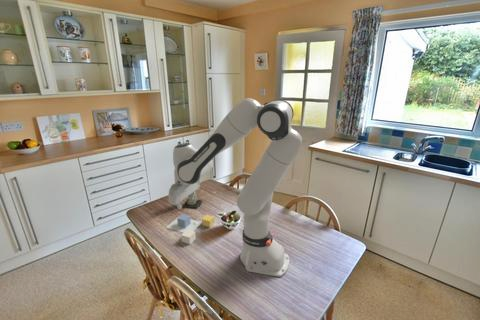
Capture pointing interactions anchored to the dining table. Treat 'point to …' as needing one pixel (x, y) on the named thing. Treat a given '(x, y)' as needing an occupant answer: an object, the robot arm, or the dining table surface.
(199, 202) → the figurine
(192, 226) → the build plate
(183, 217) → the block
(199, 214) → the dining table surface
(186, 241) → the block
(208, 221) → the block
